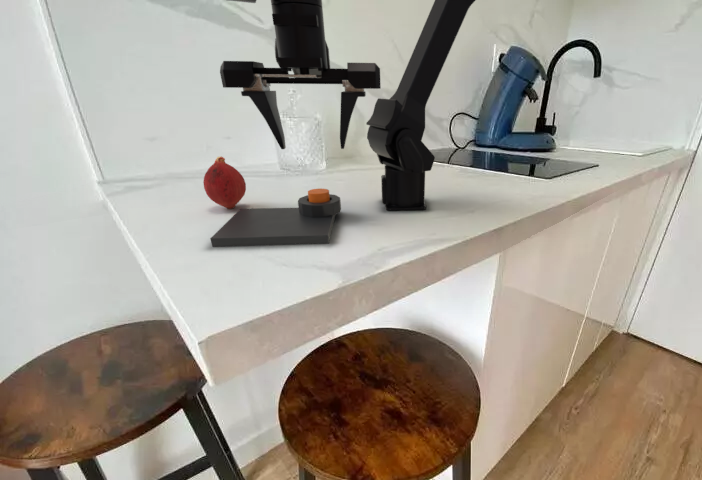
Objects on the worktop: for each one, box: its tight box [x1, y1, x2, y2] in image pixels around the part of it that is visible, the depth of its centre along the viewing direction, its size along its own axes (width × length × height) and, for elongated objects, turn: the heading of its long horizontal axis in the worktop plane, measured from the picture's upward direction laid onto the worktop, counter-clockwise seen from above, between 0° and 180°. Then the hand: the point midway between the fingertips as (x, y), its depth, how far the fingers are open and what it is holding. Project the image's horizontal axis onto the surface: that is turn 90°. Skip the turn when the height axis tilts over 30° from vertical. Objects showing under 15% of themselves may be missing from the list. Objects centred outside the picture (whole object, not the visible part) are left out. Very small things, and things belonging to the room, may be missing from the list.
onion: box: [202, 156, 247, 210], centre depth 56 cm, size 6×6×8 cm
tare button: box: [307, 188, 330, 203], centre depth 53 cm, size 3×3×2 cm
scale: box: [209, 193, 342, 248], centre depth 50 cm, size 15×13×3 cm
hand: (313, 148), depth 50 cm, fingers open, 8 cm apart
